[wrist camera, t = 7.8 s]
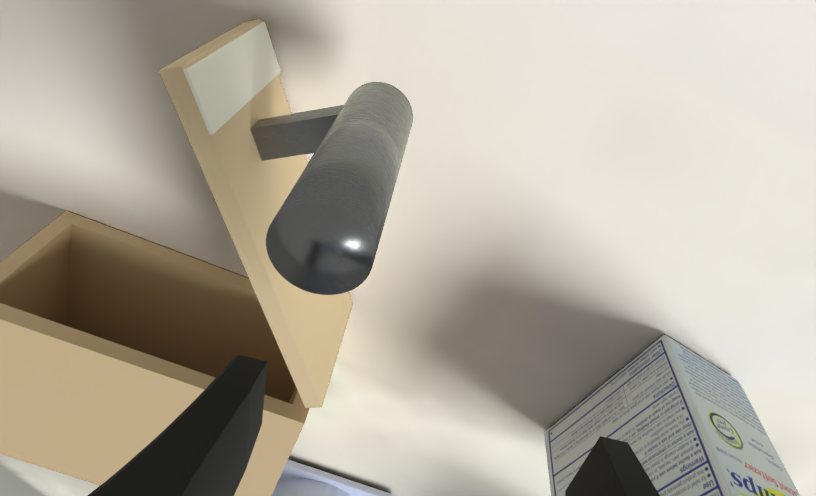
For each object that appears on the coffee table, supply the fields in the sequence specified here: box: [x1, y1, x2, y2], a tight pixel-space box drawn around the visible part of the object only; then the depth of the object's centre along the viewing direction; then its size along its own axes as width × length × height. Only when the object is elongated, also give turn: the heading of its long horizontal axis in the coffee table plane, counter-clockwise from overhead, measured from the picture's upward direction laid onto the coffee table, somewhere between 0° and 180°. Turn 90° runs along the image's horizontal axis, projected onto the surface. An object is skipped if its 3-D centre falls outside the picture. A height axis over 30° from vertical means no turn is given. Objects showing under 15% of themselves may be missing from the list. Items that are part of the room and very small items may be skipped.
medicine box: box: [544, 335, 800, 496], centre depth 22 cm, size 8×4×9 cm, turn 149°
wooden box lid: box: [159, 19, 413, 408], centre depth 16 cm, size 5×12×10 cm, turn 12°
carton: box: [0, 211, 309, 496], centre depth 23 cm, size 8×12×6 cm, turn 68°
